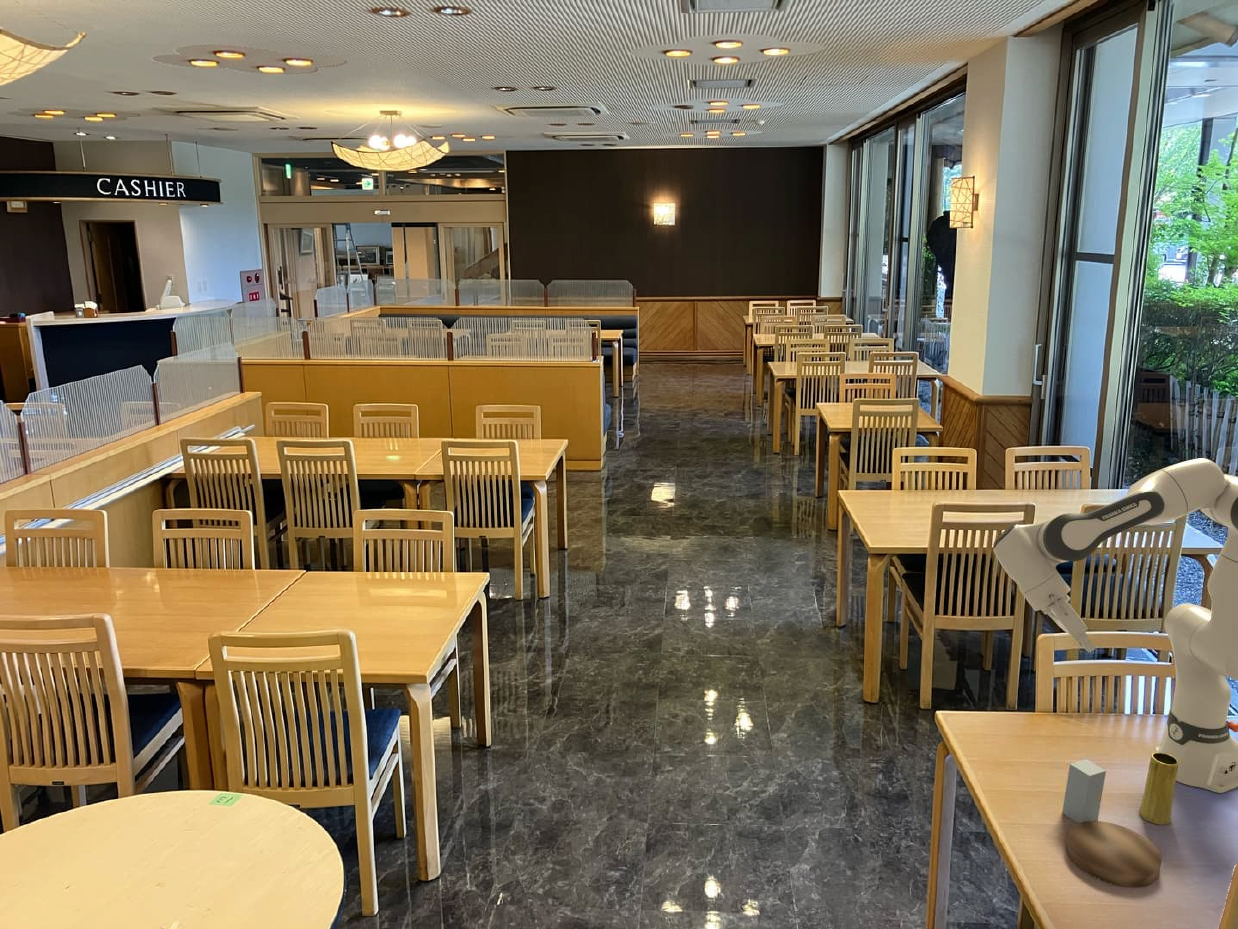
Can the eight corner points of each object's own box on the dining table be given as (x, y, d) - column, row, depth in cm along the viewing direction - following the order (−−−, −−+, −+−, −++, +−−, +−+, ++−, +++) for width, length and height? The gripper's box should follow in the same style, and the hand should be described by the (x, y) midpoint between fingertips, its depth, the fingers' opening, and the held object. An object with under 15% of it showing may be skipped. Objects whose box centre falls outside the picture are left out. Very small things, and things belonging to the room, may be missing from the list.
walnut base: (1115, 828, 209) (1117, 816, 208) (1179, 879, 193) (1181, 866, 192) (1048, 840, 204) (1050, 827, 203) (1107, 893, 188) (1110, 880, 188)
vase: (1158, 828, 209) (1169, 769, 205) (1132, 812, 214) (1142, 754, 211) (1176, 820, 212) (1187, 762, 208) (1150, 805, 217) (1160, 748, 213)
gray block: (1078, 807, 216) (1086, 759, 213) (1097, 820, 211) (1106, 770, 208) (1062, 812, 214) (1069, 764, 211) (1081, 825, 209) (1089, 776, 206)
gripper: (1067, 588, 204) (1110, 645, 201) (1055, 583, 223) (1093, 634, 220) (1040, 605, 205) (1082, 662, 202) (1030, 598, 224) (1069, 649, 221)
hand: (1088, 647), depth 211 cm, fingers open, 8 cm apart
